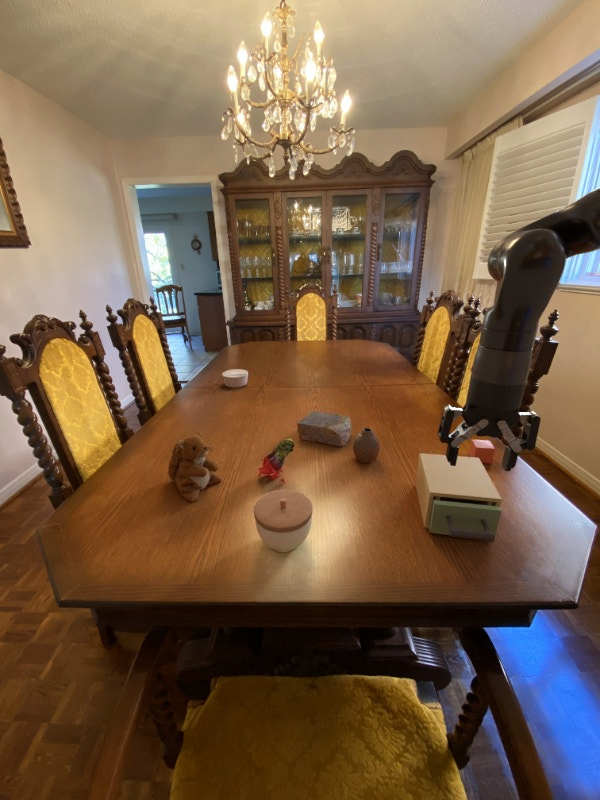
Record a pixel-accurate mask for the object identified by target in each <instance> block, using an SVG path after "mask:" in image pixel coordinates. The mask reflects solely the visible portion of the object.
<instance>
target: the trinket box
mask: <svg viewBox="0 0 600 800" xmlns="http://www.w3.org/2000/svg"><path fill="white" fill-rule="evenodd" d="M253 516H254V521H255V526H256V531H257V534H258V536H259V538H260V540H261V541H262V542H263V543H264V545H266V546H267V547H269V549H271V550H273V551H275V552H279V553H288V552H292V551H294V550H296V549H297V548H298V547H300V546H301V545H302V544H303V543H304V542H305V541H306V539H307V538H308V536H309V533H310V531H311V528H312V522H313V521H312V520H313V503H312V501H311V500H310V498H309V497H308V496H307V495H305V494H304V493H302V492H300V491H298V490H295V489H277V490H272V491H269V492H267V493H266V494H264V495H262V496H261V497H259V499H257V501H256V502H255V504H254V507H253Z"/></svg>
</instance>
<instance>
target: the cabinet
mask: <svg viewBox="0 0 600 800" xmlns="http://www.w3.org/2000/svg"><path fill="white" fill-rule="evenodd" d="M415 490H416V494H417V498H418V499H417V500H418V503H419V509H420V515H421V519H422V523H423V528H424V529H429V526H430V519H431V517H430V516H431V510H432V504H433V497H434V496H439V497H449V498H459V499H469V500H479V501H489V502H493V503H492V506H498V507H500V508H501V505H502V501H503V498H502V497H501V494H500V493H499V491H498V489H497V488H496V485H495V484H494V482H493V480H492V478H491V477H490V475H489V473H488V471H487V470H486V468H485V466H484V463H481V461H480V459H479V458H475V457H470V456H463V455H462V456H460V455H458V456H457V461H456V466H451V465H450V463H449V462H448V461H447V458H446V454H435V453H423V452H422V453H421V452H419V454H418V461H417V469H416V478H415Z"/></svg>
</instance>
